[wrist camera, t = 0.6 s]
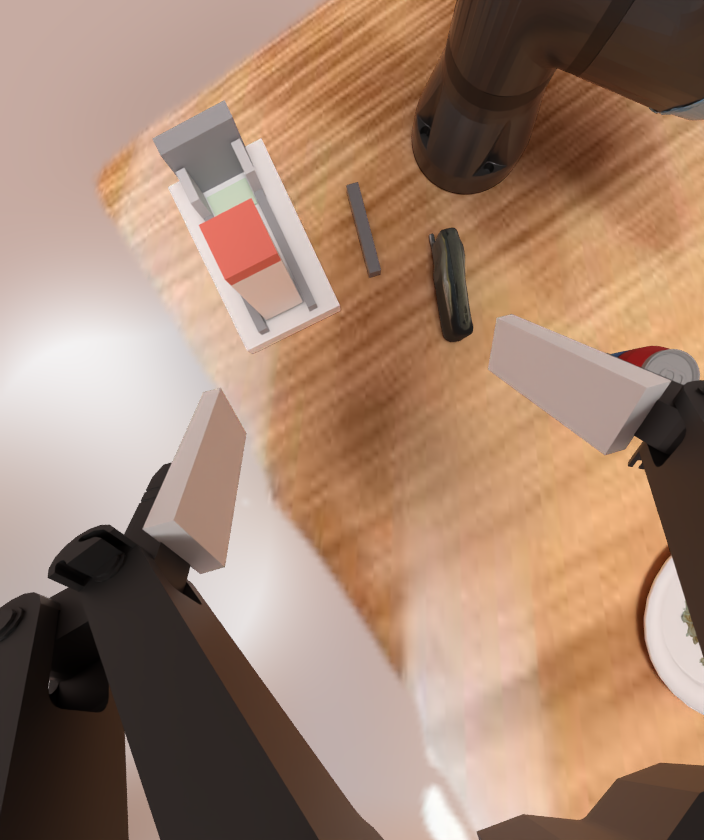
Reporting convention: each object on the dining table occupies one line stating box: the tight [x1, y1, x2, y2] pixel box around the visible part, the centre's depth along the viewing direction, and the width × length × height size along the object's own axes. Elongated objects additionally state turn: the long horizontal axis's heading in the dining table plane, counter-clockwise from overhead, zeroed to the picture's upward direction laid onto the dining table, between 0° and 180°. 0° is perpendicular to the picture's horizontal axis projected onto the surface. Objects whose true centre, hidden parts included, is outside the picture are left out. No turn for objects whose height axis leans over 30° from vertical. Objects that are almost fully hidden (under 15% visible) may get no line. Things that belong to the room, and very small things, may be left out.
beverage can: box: [610, 346, 700, 385], centre depth 32 cm, size 7×7×12 cm
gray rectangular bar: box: [346, 182, 381, 278], centre depth 37 cm, size 12×2×2 cm, turn 15°
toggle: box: [199, 198, 302, 320], centre depth 30 cm, size 5×5×11 cm
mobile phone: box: [429, 228, 473, 342], centre depth 35 cm, size 5×3×15 cm
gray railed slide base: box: [153, 100, 341, 354], centre depth 34 cm, size 24×14×8 cm, turn 25°
